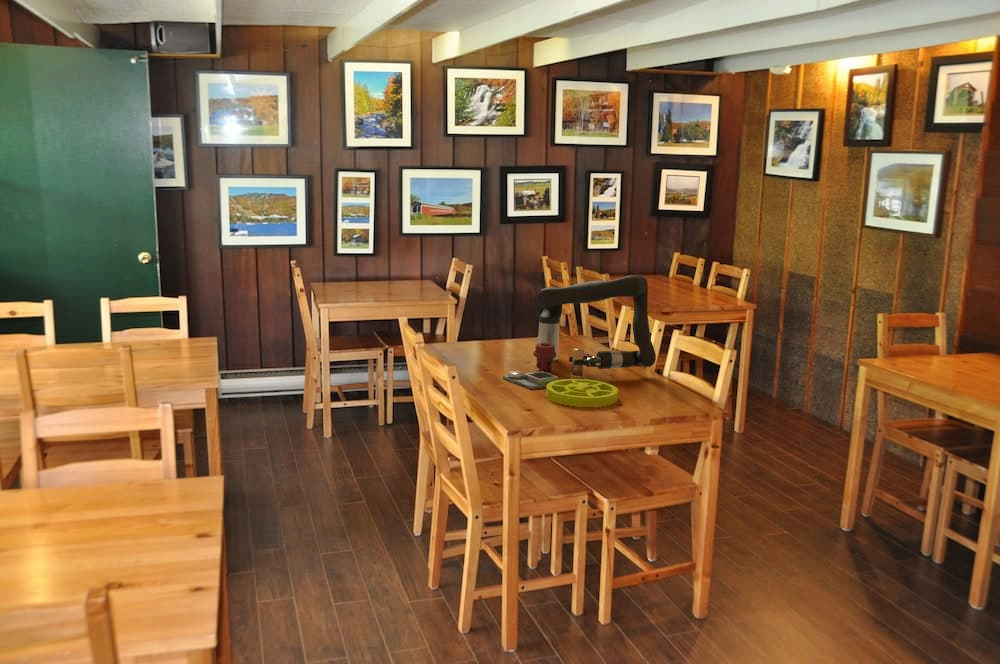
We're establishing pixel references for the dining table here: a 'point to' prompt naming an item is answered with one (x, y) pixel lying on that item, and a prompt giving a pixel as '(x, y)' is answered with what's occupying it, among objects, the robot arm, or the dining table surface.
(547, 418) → the dining table surface
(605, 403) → the pulley
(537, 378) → the carrier plate
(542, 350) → the mechanical component
